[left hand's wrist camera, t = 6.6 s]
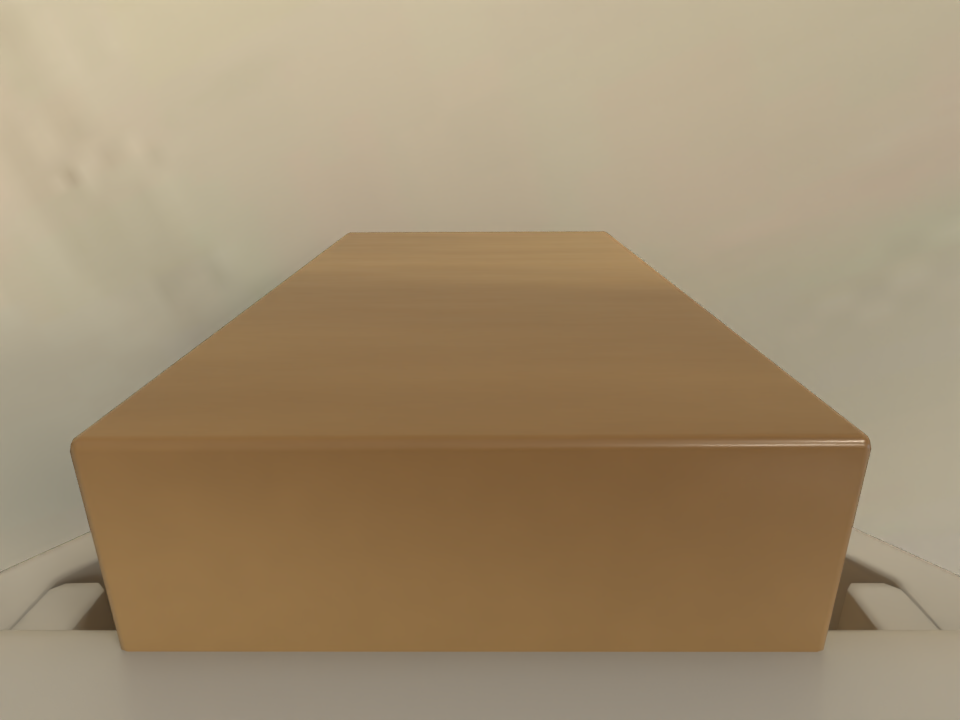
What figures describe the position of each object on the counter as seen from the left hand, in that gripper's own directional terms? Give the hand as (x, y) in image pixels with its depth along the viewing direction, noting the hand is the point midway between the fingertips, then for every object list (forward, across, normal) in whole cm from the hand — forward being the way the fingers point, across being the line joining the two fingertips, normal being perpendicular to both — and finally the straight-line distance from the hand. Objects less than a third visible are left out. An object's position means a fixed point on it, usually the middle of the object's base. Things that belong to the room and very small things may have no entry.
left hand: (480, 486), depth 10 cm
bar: (+4, 0, -10) cm, 10 cm away
